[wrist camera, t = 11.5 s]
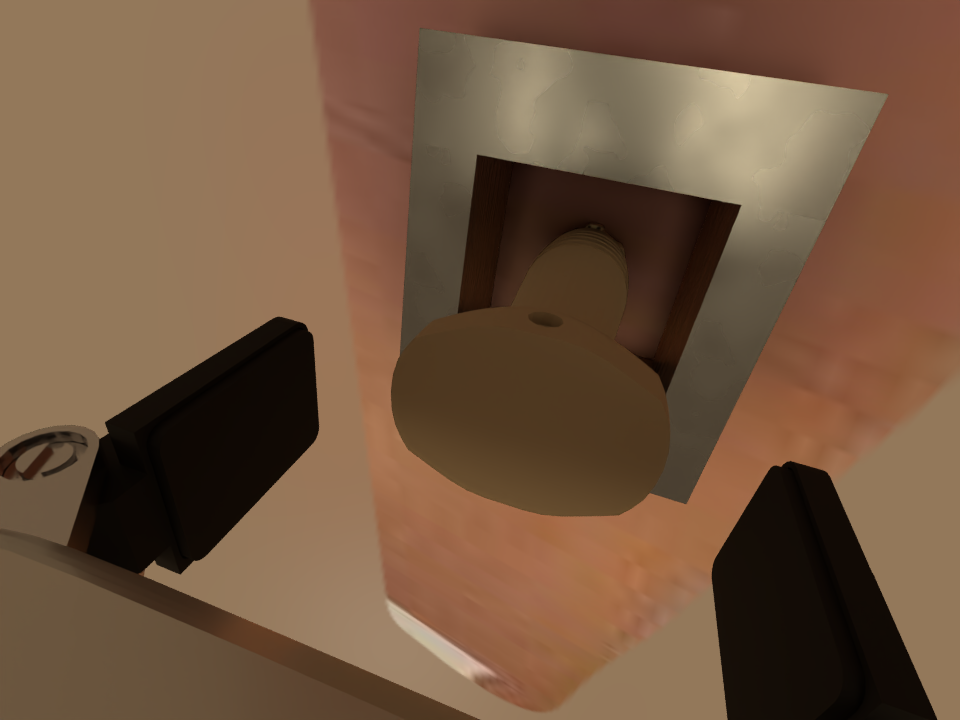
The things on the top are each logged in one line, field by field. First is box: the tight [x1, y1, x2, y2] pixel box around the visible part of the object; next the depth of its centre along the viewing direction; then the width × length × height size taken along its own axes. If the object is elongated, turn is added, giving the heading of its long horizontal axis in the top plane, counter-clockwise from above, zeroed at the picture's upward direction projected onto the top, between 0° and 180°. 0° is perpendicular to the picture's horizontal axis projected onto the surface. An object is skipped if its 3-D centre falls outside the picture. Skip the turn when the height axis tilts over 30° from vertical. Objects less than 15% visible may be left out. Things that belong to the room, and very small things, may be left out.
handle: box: [391, 223, 670, 516], centre depth 17 cm, size 5×6×15 cm
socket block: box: [400, 28, 888, 504], centre depth 21 cm, size 16×14×6 cm
